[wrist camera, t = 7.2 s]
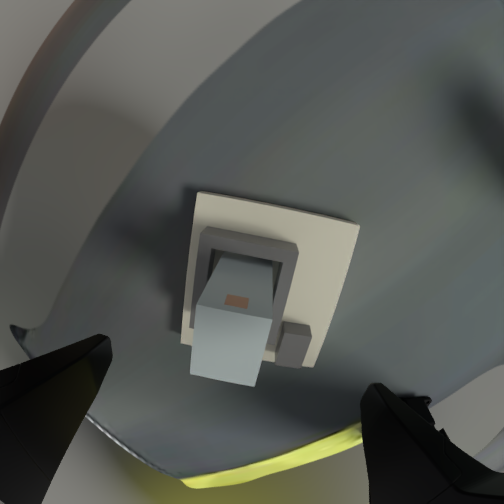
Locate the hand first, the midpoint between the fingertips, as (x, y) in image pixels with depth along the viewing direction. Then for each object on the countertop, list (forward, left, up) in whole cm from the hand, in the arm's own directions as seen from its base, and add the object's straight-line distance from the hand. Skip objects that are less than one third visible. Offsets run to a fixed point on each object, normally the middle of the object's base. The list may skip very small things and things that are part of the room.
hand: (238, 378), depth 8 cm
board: (-2, -1, -13) cm, 13 cm away
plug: (-2, +1, -11) cm, 12 cm away
